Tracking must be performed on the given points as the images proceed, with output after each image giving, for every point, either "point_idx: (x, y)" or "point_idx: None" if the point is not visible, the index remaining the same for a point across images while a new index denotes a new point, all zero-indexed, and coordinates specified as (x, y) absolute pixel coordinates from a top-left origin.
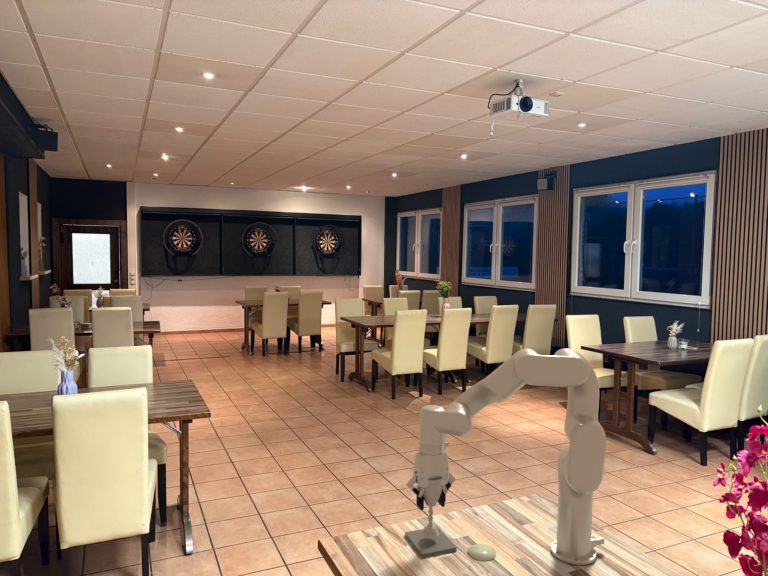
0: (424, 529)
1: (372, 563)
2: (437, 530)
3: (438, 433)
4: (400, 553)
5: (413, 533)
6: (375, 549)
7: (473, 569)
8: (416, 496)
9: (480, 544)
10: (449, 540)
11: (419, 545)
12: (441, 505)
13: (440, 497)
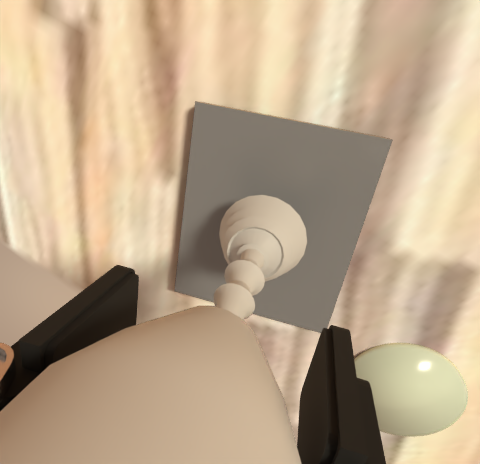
0: (225, 235)
1: (14, 217)
2: (292, 264)
3: None
4: (121, 219)
5: (227, 136)
6: (44, 141)
7: (291, 421)
8: (16, 343)
9: (443, 364)
10: (340, 280)
11: (197, 238)
12: (305, 384)
13: (308, 430)
